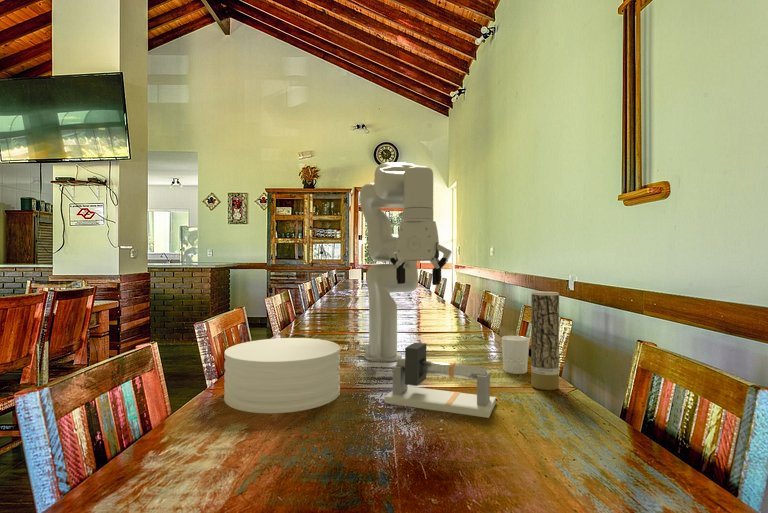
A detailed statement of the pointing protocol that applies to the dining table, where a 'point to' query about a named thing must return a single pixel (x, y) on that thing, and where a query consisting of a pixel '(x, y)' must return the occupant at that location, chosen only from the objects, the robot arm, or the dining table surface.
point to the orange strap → (451, 374)
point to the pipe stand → (442, 397)
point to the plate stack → (281, 375)
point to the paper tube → (545, 340)
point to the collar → (414, 363)
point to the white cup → (515, 354)
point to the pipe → (446, 369)
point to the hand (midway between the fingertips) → (418, 284)
